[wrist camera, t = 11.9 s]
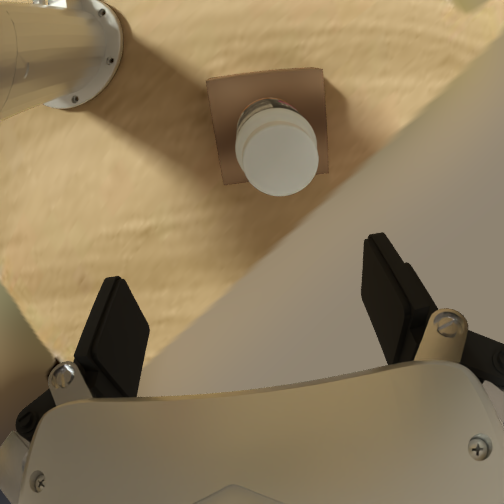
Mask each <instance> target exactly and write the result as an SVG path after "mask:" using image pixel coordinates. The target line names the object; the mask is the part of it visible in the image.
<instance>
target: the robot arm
mask: <svg viewBox="0 0 504 504" xmlns="http://www.w3.org/2000/svg"><path fill="white" fill-rule="evenodd" d="M105 11H106V13H105V15H103V13H104V12H105ZM122 51H123V31H122V27H121V24H120V21H119V19H118V17H117V15H116V13H115V12H114V11H113V10H112V9H111V8H110V7H109V6H108V5H106V4H105V3H103V2H102V1H100V0H48V5H46V4H45V0H33V4H31V3H18V2H0V122H1V121H3V120H5V119H8V118H10V117H12V116H14V115H17V114H19V113H21V112H24V111H26V110H29V109H31V108H34V107H36V106H39V105H41V104H43V105H46V106H48V107H51V108H56V109H67V108H72V107H76V106H79V105H81V104H84V103H85V102H87V101H89V100H91V99H93V98H94V97H95V96H97V95H98V94H99V93H100V92H101V91H102V90H103V89H104V88H105V87H106V86H107V85H108V84H109V82H110V81H111V79H112V78H113V76H114V74H115V72H116V70H117V68H118V66H119V63H120V60H121V56H122ZM112 58H113V59H114V62H113V63H112V62H111V59H112ZM77 96H78V100H77ZM361 296H362V300H363V303H364V305H365V307H366V310H367V312H368V315H369V317H370V320H371V322H372V325H373V327H374V330H375V332H376V335H377V337H378V340H379V342H380V345H381V348H382V350H383V353H384V355H385V358H386V361H387V363H388V365H386V366H382V367H377V368H373V369H368V370H363V371H358V372H353V373H349V374H343V375H338V376H333V377H328V378H323V379H317V380H312V381H306V382H300V383H293V384H287V385H281V386H273V387H266V388H258V389H250V390H241V391H232V392H221V393H210V394H197V395H182V396H161V397H137V392H138V386H139V381H140V376H141V371H142V366H143V361H144V356H145V351H146V346H147V342H148V337H149V332H150V329H149V325H148V323H147V321H146V319H145V317H144V315H143V313H142V312H141V310H140V308H139V306H138V304H137V302H136V300H135V298H134V296H133V295H132V293H131V291H130V289H129V287H128V285H127V283H126V281H125V280H124V279H121V277H119V276H115V277H109V278H105V280H104V282H103V284H102V286H101V288H100V291H99V293H98V295H97V298H96V300H95V303H94V305H93V307H92V310H91V312H90V315H89V317H88V320H87V322H86V325H85V327H84V330H83V332H82V335H81V338H80V340H79V343H78V346H77V348H76V351H75V354H74V357H75V359H74V362H69V361H66V362H62V363H60V364H59V365H57V366H56V367H55V368H54V369H53V370H52V372H51V373H50V376H49V380H48V384H49V388H50V389H48V390H47V391H46V392H44V393H43V394H42V395H41V396H39V397H38V398H37V399H36V400H34V401H33V402H32V403H31V404H29V405H28V406H27V407H25V408H24V409H23V410H22V411H21V412H20V413H19V415H18V417H17V420H16V430H17V431H16V432H14V431H12V432H11V433H10V435H9V436H8V437H7V439H6V440H5V441H4V443H3V444H2V445H1V447H0V489H1V490H2V492H3V493H4V494H5V496H6V497H7V498H8V499H9V501H10V502H11V503H12V504H504V430H503V427H502V424H501V422H500V420H499V418H500V419H501V421H502V422H503V424H504V344H502V343H500V342H497V341H495V340H492V339H490V338H487V337H485V336H482V335H479V334H477V333H474V332H472V331H469V330H468V323H467V320H466V319H465V317H464V316H463V315H462V314H461V313H459V312H458V311H455V310H453V309H448V308H446V309H445V308H444V309H439V310H438V308H437V306H436V305H435V303H434V301H433V300H432V298H431V296H430V295H429V293H428V292H427V290H426V289H425V287H424V285H423V284H422V282H421V280H420V279H419V277H418V276H417V274H416V272H415V271H414V269H413V268H412V267H411V265H410V264H409V263H404V262H403V261H402V259H401V257H400V256H399V254H398V253H397V251H396V250H395V249H394V247H393V245H392V244H391V242H390V241H389V239H388V238H387V237H386V235H385V234H384V233H376V234H370V235H369V236H368V239H365V240H364V252H363V271H362V286H361Z"/></svg>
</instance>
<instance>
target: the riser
mask: <svg viewBox="0 0 504 504" xmlns="http://www.w3.org/2000/svg"><path fill="white" fill-rule="evenodd" d="M206 84H207V90H208V96H209V102H210V108H211V114H212V120H213V126H214V132H215V138H216V143H217V149H218V155H219V161H220V166H221V172H222V178H223V183H224V185H228V184H236V183H243V182H249V180H248V179H247V177H246V175H245V173H244V171H243V170H242V169H241V167H240V165H239V163H238V160H237V157H236V152H235V144H236V131H237V123H238V120H239V117H240V115H241V113H242V112H243V110H244V109H245V108H246V107H247V106H248V105H249V104H251V103H252V102H254V101H256V100H259V99H262V98H277V99H281V100H283V101H285V102H287V103H289V104H290V105H292V106H293V107H294V108H295V109H296V110H297V111H298V112H299V113H300V114H301V115H302V116H303V117H304V118H305V119H306V120H307V121H308V122H309V124H310V125H311V127H312V129H313V131H314V133H315V136H316V141H317V151H318V156H319V162H318V168H317V172H316V174H324V173H329V169H328V143H327V123H326V107H325V93H324V81H323V69H319V68H314V67H310V68H292V69H279V70H268V71H259V72H250V73H242V74H234V75H227V76H221V77H214V78H210V79H208V80H207V81H206Z"/></svg>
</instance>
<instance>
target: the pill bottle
mask: <svg viewBox="0 0 504 504" xmlns="http://www.w3.org/2000/svg"><path fill="white" fill-rule="evenodd" d="M235 152H236V157H237V160H238V163H239V165H240V167H241V169H242V170H243V171H244V173H245V175H246V177H247V179H248V180H249V182H250V183H251V184H252V185H253V186H254V187H255V188H256V189H258V190H259V191H261V192H263V193H265V194H268V195H272V196H287V195H291V194H294V193H297V192H299V191H300V190H302V189H304V188H305V187H306V186H307V185H308V184H309V183H310V182H311V181H312V179H313V178H314V176H315V174H316V172H317V168H318V162H319V156H318V151H317V141H316V136H315V133H314V131H313V129H312V127H311V125H310V124H309V122H308V121H307V120H306V119H305V118H304V117H303V116H302V115H301V114H300V113H299V112H298V111H297V110H296V109H295V108H294V107H293V106H292V105H290V104H289V103H287V102H285V101H283V100H281V99H277V98H262V99H259V100H256V101H254V102H252V103H251V104H249V105H248V106H247V107H246V108H245V109H244V110H243V112H242V113H241V115H240V117H239V120H238V123H237V131H236V144H235Z"/></svg>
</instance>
